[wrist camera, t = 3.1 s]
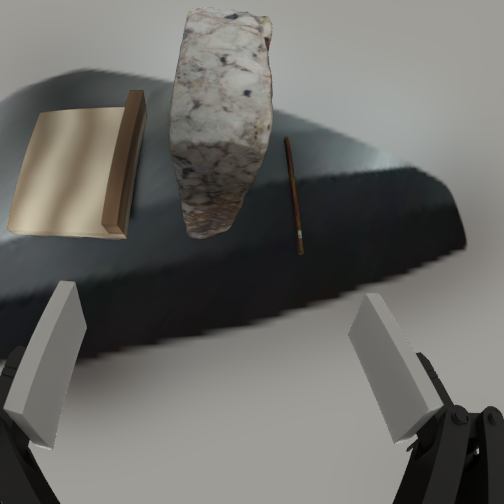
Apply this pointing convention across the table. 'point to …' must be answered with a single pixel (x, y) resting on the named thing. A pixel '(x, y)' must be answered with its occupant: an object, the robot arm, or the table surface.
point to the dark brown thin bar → (294, 196)
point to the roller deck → (80, 172)
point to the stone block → (220, 114)
